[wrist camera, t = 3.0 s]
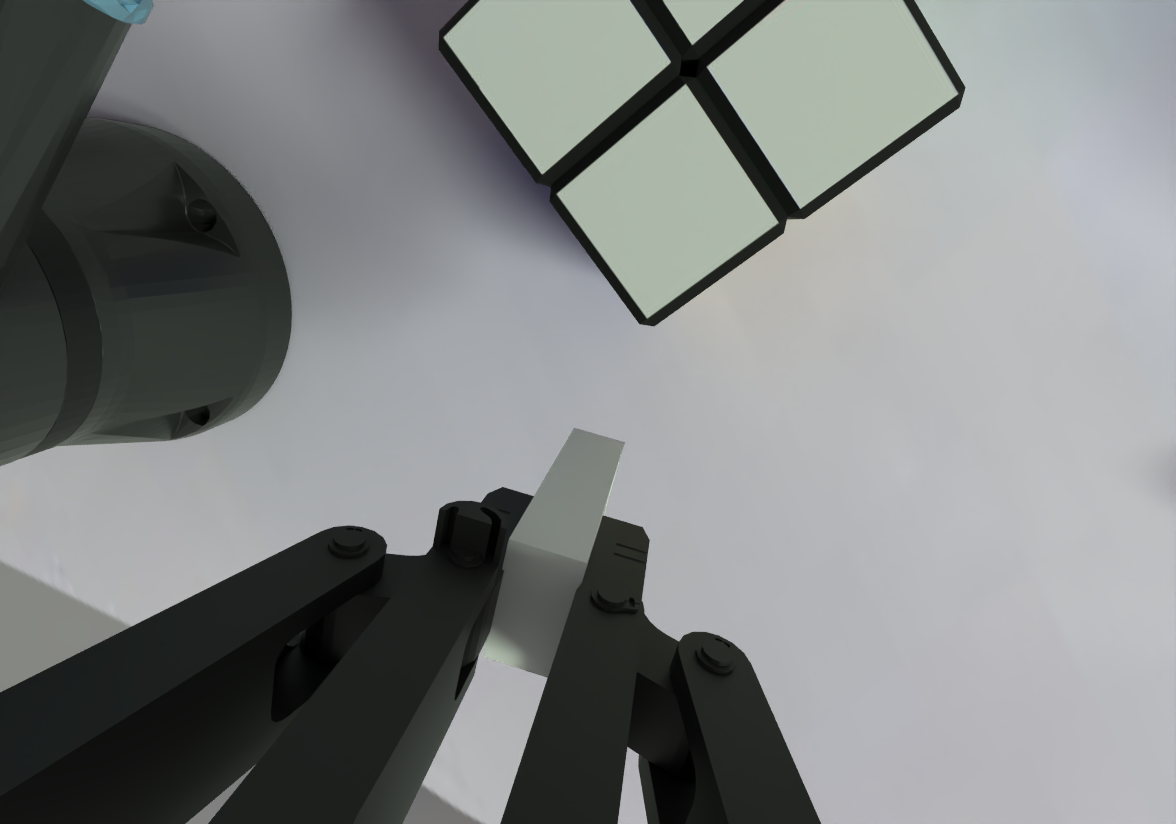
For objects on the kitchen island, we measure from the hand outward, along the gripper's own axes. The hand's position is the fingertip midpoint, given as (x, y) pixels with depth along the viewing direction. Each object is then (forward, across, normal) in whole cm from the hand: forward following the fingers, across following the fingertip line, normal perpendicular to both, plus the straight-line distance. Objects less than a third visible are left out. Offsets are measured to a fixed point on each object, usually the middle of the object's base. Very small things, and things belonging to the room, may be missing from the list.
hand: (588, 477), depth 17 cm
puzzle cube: (+12, 0, +11) cm, 16 cm away
